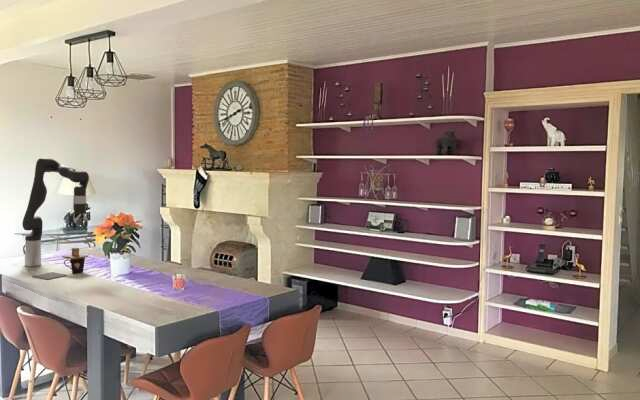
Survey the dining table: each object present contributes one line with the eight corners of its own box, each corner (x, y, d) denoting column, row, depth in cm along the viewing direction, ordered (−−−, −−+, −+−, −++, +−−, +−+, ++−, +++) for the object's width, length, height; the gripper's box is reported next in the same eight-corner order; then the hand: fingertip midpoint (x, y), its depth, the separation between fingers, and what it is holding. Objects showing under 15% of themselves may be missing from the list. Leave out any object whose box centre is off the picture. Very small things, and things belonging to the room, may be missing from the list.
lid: (62, 257, 338) (62, 248, 338) (76, 255, 348) (76, 246, 348) (74, 259, 333) (74, 250, 333) (88, 256, 343) (88, 247, 343)
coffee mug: (87, 271, 345) (87, 256, 344) (80, 274, 337) (80, 258, 336) (70, 270, 346) (70, 255, 346) (63, 273, 338) (63, 257, 337)
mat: (32, 277, 325) (32, 276, 325) (52, 273, 338) (52, 272, 338) (47, 279, 319) (47, 278, 319) (67, 275, 332) (67, 274, 332)
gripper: (85, 201, 345) (85, 226, 346) (66, 203, 332) (66, 228, 333) (93, 202, 341) (93, 227, 342) (74, 203, 328) (74, 229, 330)
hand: (79, 228), depth 338 cm, fingers open, 8 cm apart
